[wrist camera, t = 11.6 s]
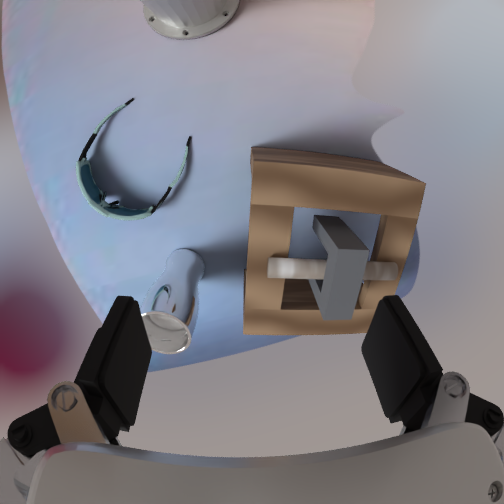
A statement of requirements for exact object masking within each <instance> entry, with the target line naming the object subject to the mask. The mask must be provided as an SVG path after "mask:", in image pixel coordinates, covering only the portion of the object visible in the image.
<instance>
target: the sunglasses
mask: <svg viewBox="0 0 504 504" xmlns="http://www.w3.org/2000/svg"><path fill="white" fill-rule="evenodd" d="M133 100H134V99H133V98H132V99H131V100H129V101H128V102H127V103H125V104H123V105H121V106H119V107H118V108H116V109H115V110H114V111H112V112H111V113H110V114H109V115H108V116H106V117H105V118H104V119H103V120H102V121H101V122H100V123H99V125H98V126H97V127H96V129H95V131H94V133H93V134H92V136H91V137H90V139H89V141H88V142H87V144H86V146H85V148H84V149H83V151H82V153H81V156H80V158H79V161H77V162H76V175H77V180H78V184H79V186H80V189H81V191H82V193H83V196H84V197H85V198H86V200H87V201H88V204H89V205H90V206H91V207H92V208H94V209H95V210H96V211H97V212H98V213H100V214H101V215H103V216H105V217H111V218H114V219H119V220H139V219H144V218H146V217H148V216H151V215H152V213H154V212H155V211H156V210H157V209H158V208H159V207H160V205H161V204H162V203H163V202H164V200H165V199H166V197H167V196H168V194H169V192H170V191H171V189H172V187H173V186H174V185H175V184H176V182H177V181H178V179H179V177H180V175H181V173H182V171H183V168H184V165H185V162H186V159H187V153H188V147H189V142H190V139H191V137H190V136H189V139H188V142H187V145H186V151H185V156H184V160H183V163H182V166H181V168H180V170H179V173H178V175H177V176H176V178H175V180H174V181H173V182H172V183H171V184H170V185H169V187H168V190H167V192H166V193H165V194H164V196H163V197H162V199H161V200H160V201H159V203H158V204H157V206H154V205H152V206H151V207H150V208H143V209H137V210H133V209H128V208H125V207H124V206H121V205H116V204H118V203H119V200H118V201H114V202H112V203H109V204H108V203H107V202H106V201H105V197H106V192H105V193H104V194H103V192H102V191H101V189H99V188H98V187H97V185H96V183H95V181H94V179H93V177H92V176H93V175H92V174H91V173H92V170H91V166H90V162H89V160H87V158H86V154H87V151H88V150H89V148H90V146H91V144H92V143H93V141H94V139H95V138H96V136H97V134H98V132H99V131H100V129H101V127H102V125H103V124H104V123H105V122H106V121H107V120H108V119H109V118H110V117H111V116H112V115H113V114H115V113H116V112H117V111H119V110H121V109H122V108H124V107H125V106H127V105H128V104H129V103H130V102H131V101H133Z"/></svg>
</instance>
